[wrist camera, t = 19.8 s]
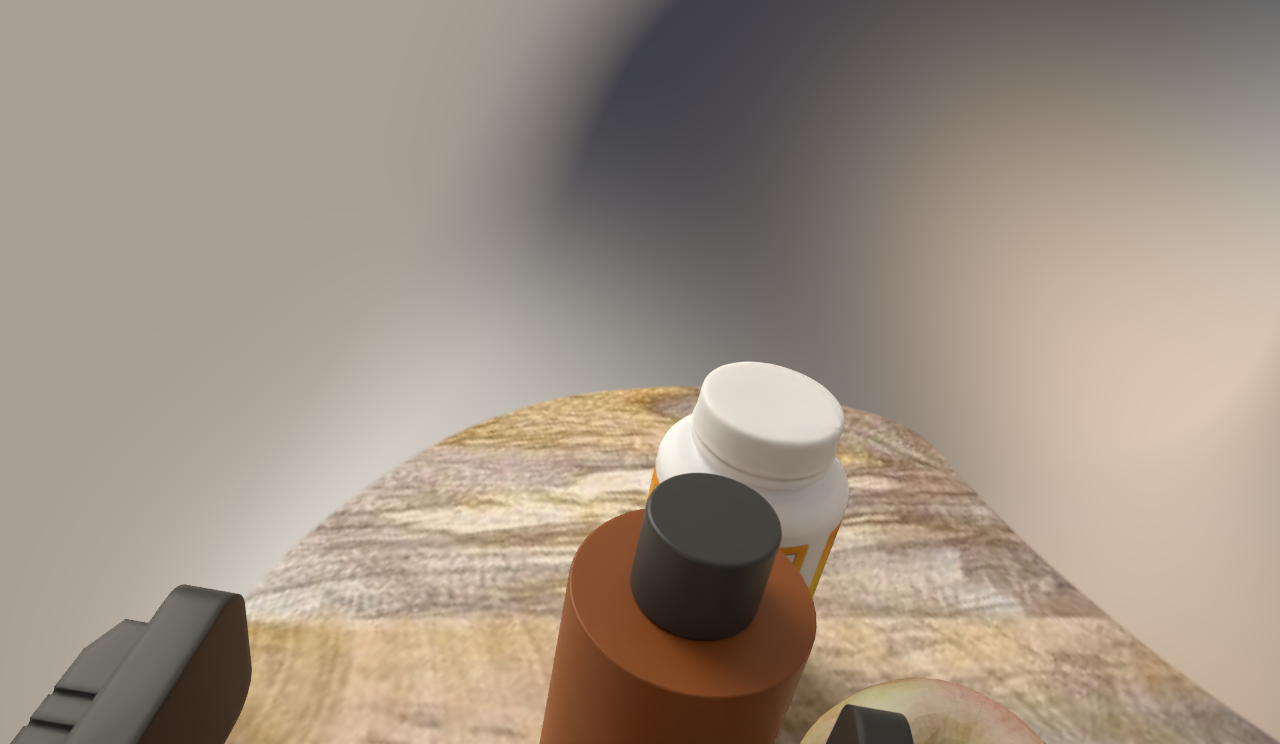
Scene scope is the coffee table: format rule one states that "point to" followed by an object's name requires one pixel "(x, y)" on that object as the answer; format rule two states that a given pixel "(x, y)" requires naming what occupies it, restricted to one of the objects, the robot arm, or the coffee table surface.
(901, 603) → the coffee table surface
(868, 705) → the fruit
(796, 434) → the supplement bottle
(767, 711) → the amber bottle
